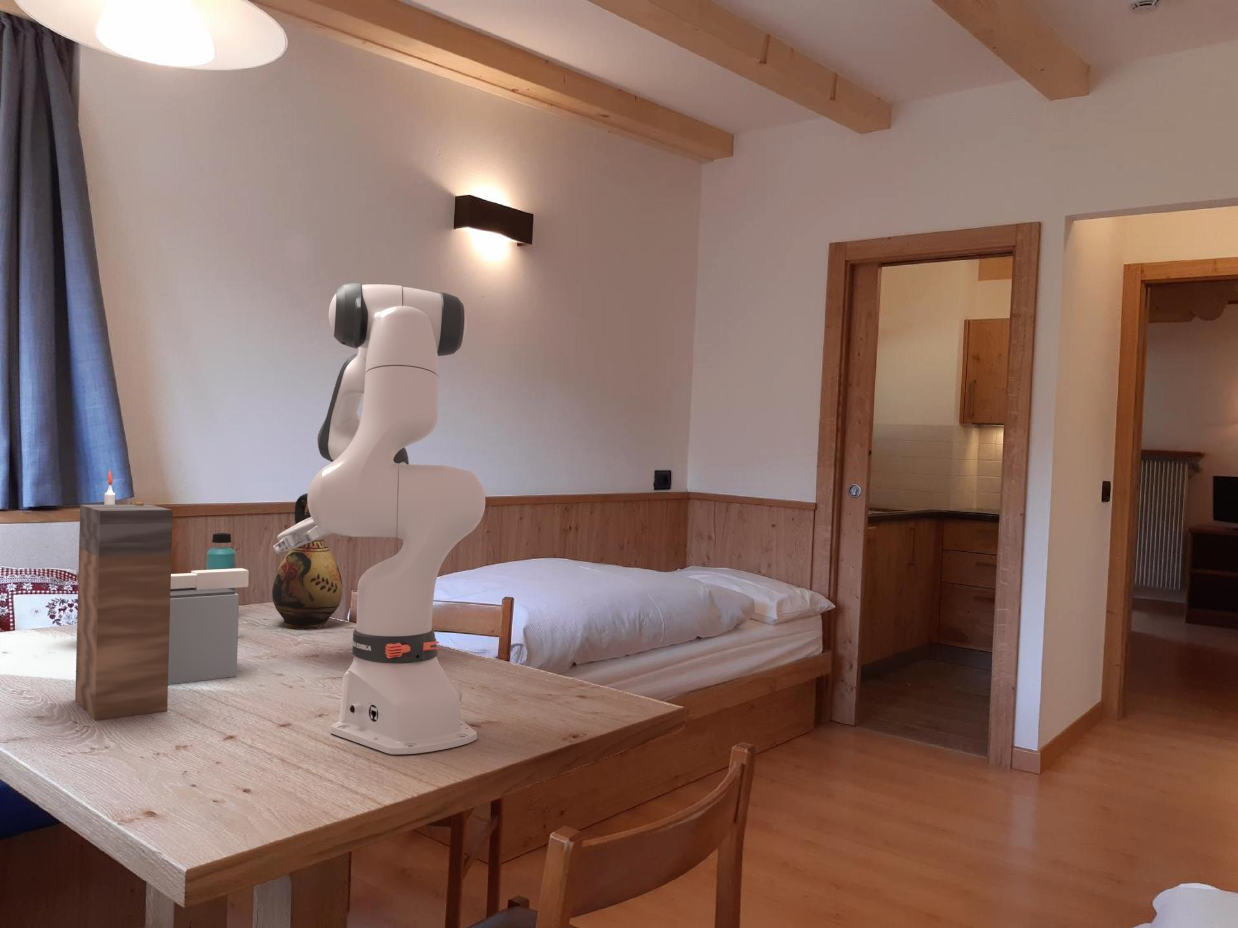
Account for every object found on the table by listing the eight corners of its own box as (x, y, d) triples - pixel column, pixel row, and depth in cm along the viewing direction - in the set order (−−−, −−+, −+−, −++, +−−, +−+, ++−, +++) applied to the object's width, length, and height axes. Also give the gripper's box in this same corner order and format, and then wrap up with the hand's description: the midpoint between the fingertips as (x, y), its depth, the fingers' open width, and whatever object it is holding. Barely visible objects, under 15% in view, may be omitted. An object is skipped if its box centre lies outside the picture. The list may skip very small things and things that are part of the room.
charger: (248, 586, 181) (248, 570, 181) (151, 592, 170) (152, 575, 170) (241, 584, 184) (242, 568, 184) (146, 589, 173) (147, 572, 173)
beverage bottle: (202, 621, 225) (204, 534, 225) (206, 616, 232) (208, 531, 231) (232, 621, 227) (235, 534, 227) (235, 616, 233) (238, 531, 233)
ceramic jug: (355, 626, 226) (359, 495, 225) (293, 634, 214) (297, 496, 214) (315, 616, 237) (318, 491, 237) (254, 623, 226) (258, 492, 225)
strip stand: (167, 710, 152) (172, 507, 151) (94, 720, 145) (100, 508, 145) (143, 691, 162) (148, 501, 162) (75, 699, 156) (80, 502, 156)
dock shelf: (236, 676, 175) (239, 591, 175) (138, 687, 165) (141, 597, 165) (211, 661, 186) (214, 581, 186) (118, 671, 176) (120, 587, 175)
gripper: (302, 511, 196) (250, 542, 184) (368, 482, 184) (317, 513, 173) (318, 539, 197) (267, 571, 186) (385, 512, 185) (335, 545, 174)
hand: (292, 543), depth 179 cm, fingers open, 8 cm apart
